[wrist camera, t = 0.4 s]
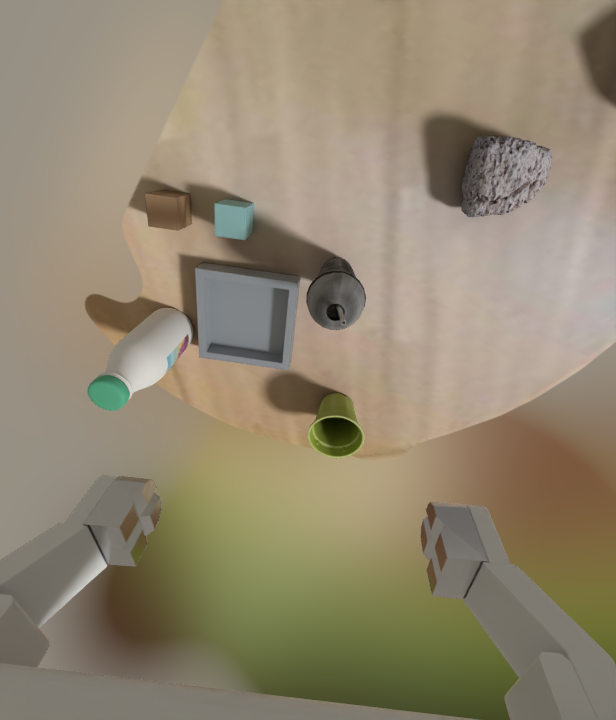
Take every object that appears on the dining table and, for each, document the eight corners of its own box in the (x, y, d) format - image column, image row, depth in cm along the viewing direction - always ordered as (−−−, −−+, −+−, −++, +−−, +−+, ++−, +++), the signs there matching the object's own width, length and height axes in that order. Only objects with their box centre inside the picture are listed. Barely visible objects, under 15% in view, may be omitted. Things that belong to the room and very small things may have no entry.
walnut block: (162, 190, 49) (144, 193, 44) (190, 194, 49) (175, 197, 44) (164, 220, 51) (148, 226, 46) (191, 224, 51) (178, 230, 46)
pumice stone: (489, 220, 49) (557, 152, 42) (498, 246, 44) (578, 174, 37) (432, 178, 47) (494, 100, 40) (435, 201, 42) (507, 114, 35)
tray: (202, 262, 53) (195, 268, 51) (300, 276, 53) (298, 283, 50) (205, 348, 61) (199, 357, 58) (291, 360, 61) (288, 370, 58)
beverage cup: (302, 270, 53) (284, 327, 36) (339, 237, 50) (338, 280, 33) (334, 304, 55) (331, 372, 38) (371, 274, 52) (385, 333, 35)
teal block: (225, 199, 49) (214, 203, 44) (253, 202, 48) (245, 207, 44) (225, 228, 51) (215, 235, 46) (252, 232, 51) (244, 240, 46)
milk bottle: (141, 315, 59) (59, 381, 42) (178, 299, 57) (108, 362, 40) (167, 352, 62) (101, 427, 45) (203, 339, 60) (148, 412, 43)
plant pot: (322, 429, 69) (319, 463, 61) (303, 392, 64) (298, 424, 57) (368, 417, 66) (371, 451, 59) (351, 379, 62) (353, 409, 55)
